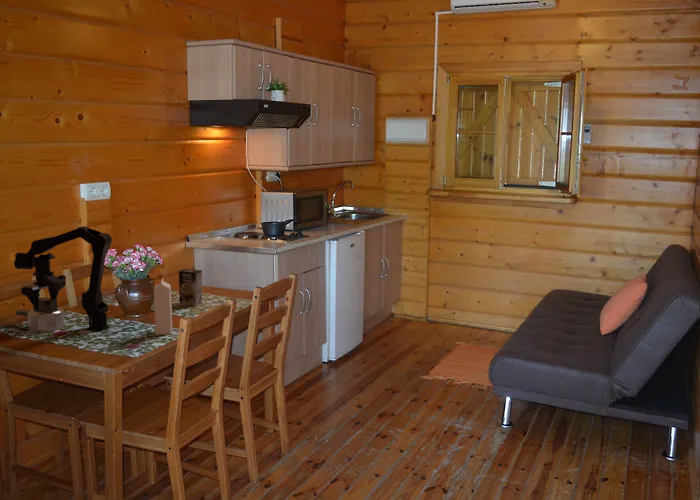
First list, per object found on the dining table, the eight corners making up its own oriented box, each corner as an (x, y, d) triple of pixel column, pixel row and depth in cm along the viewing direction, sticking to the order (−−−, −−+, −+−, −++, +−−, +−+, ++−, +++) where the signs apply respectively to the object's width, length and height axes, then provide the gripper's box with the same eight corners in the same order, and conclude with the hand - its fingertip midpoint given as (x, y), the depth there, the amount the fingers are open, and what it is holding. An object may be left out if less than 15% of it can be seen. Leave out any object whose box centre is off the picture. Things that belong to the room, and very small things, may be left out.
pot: (70, 324, 282) (69, 310, 281) (47, 332, 270) (46, 318, 269) (31, 319, 288) (30, 305, 287) (6, 327, 276) (5, 313, 275)
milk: (172, 330, 276) (171, 277, 272) (170, 334, 270) (169, 280, 266) (156, 330, 275) (155, 277, 271) (155, 334, 269) (153, 280, 265)
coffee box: (178, 304, 316) (177, 270, 314) (186, 301, 322) (185, 268, 320) (196, 306, 314) (195, 272, 311) (203, 303, 320) (202, 269, 317)
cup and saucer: (70, 312, 281) (69, 296, 280) (46, 320, 269) (45, 304, 267) (45, 309, 285) (44, 294, 284) (20, 317, 273) (19, 301, 272)
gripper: (41, 275, 262) (43, 314, 265) (75, 266, 280) (77, 303, 282) (18, 273, 266) (21, 311, 269) (53, 265, 283) (55, 301, 286)
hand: (45, 306), depth 276 cm, fingers open, 9 cm apart
